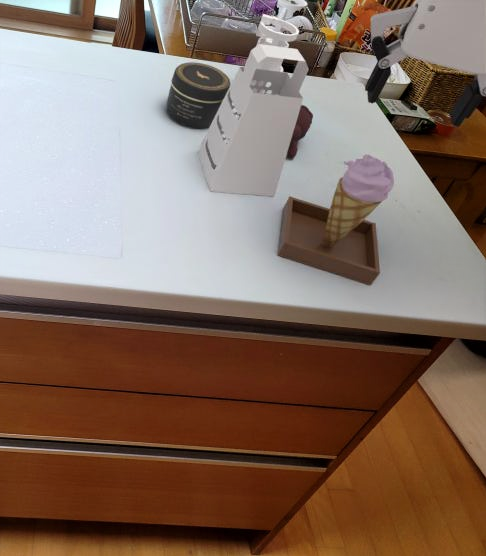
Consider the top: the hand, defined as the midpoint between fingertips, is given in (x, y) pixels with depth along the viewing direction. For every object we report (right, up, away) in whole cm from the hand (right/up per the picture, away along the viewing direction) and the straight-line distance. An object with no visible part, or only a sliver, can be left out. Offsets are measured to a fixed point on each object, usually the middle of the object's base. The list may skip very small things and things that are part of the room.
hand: (411, 109), depth 64 cm
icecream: (-4, +6, +35) cm, 36 cm away
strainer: (-7, +16, +44) cm, 47 cm away
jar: (-21, +10, +35) cm, 42 cm away
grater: (-15, -3, +25) cm, 29 cm away
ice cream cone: (-4, -15, +16) cm, 22 cm away
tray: (-4, -15, +16) cm, 22 cm away
